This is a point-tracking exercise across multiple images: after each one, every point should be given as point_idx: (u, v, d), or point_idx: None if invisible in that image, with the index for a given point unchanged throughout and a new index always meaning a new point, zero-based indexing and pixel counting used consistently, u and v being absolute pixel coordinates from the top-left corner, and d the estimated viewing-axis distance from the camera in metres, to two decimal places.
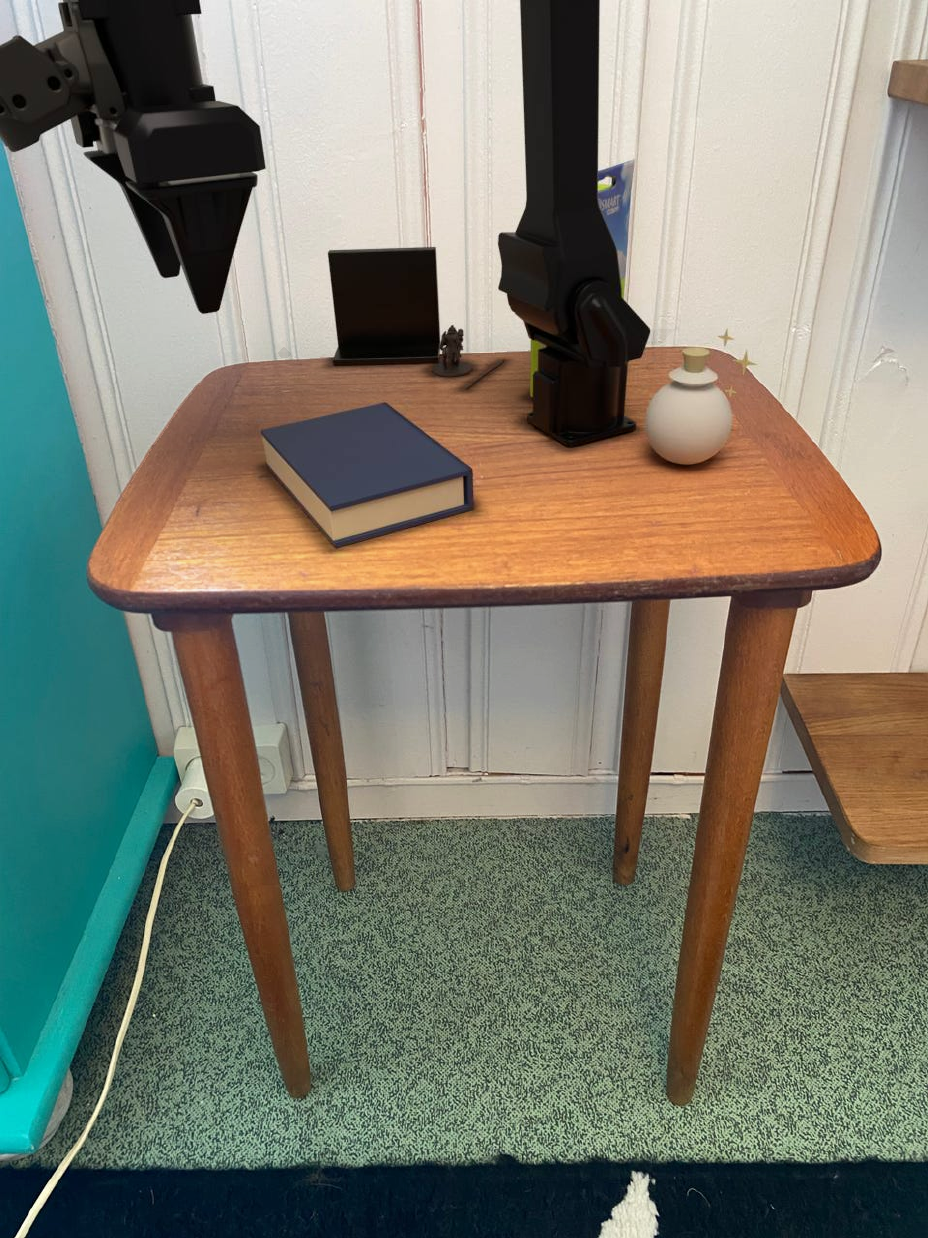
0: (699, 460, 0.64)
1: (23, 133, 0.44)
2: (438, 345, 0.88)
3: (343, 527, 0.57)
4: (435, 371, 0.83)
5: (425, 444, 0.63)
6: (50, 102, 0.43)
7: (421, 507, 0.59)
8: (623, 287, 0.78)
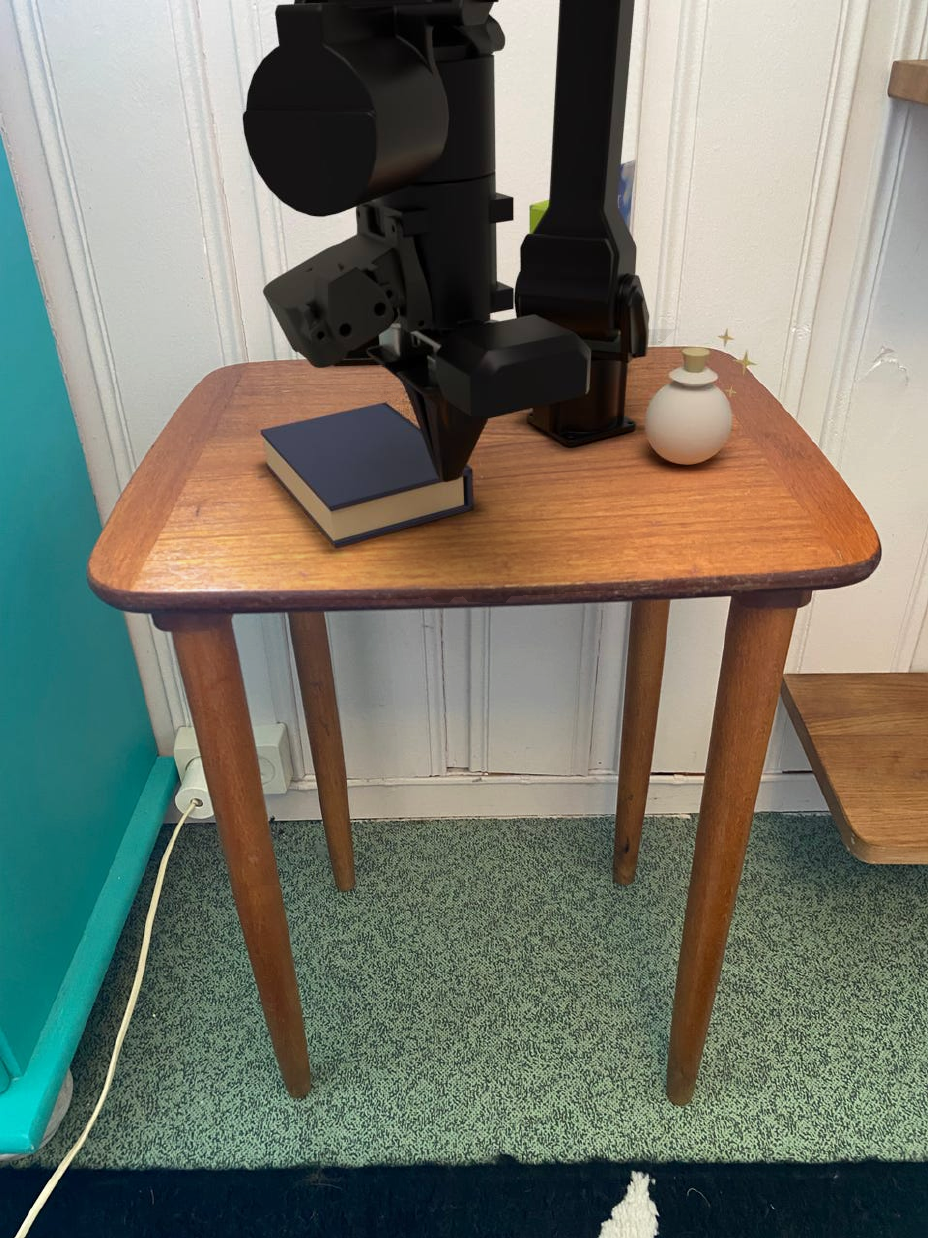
0: (699, 460, 0.64)
1: (333, 352, 0.42)
2: None
3: (343, 527, 0.57)
4: None
5: (425, 444, 0.63)
6: (374, 328, 0.40)
7: (421, 507, 0.59)
8: None
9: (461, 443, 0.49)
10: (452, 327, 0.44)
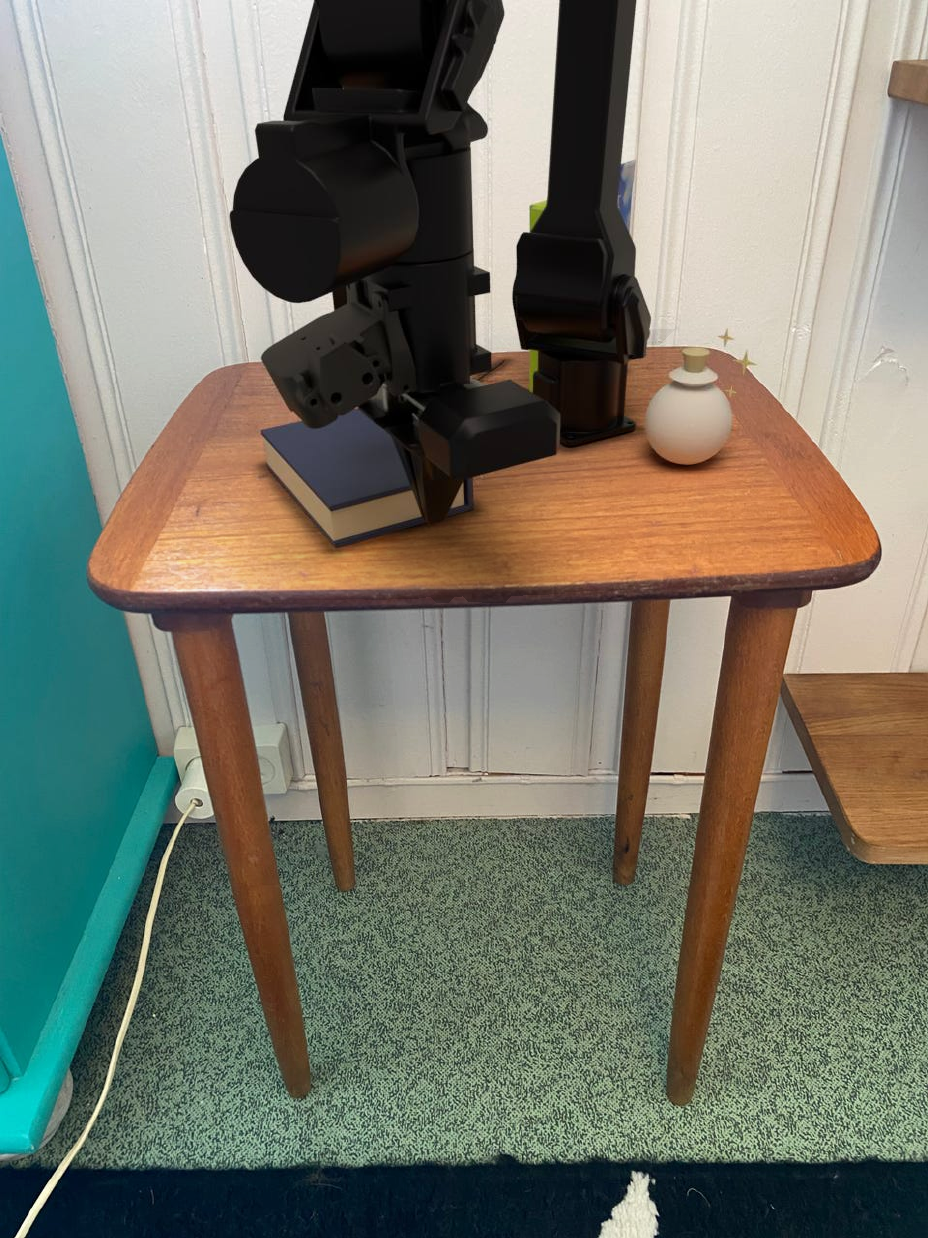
0: (699, 460, 0.64)
1: (325, 415, 0.46)
2: None
3: (343, 527, 0.57)
4: None
5: None
6: (362, 395, 0.44)
7: None
8: None
9: (445, 490, 0.53)
10: (434, 389, 0.48)
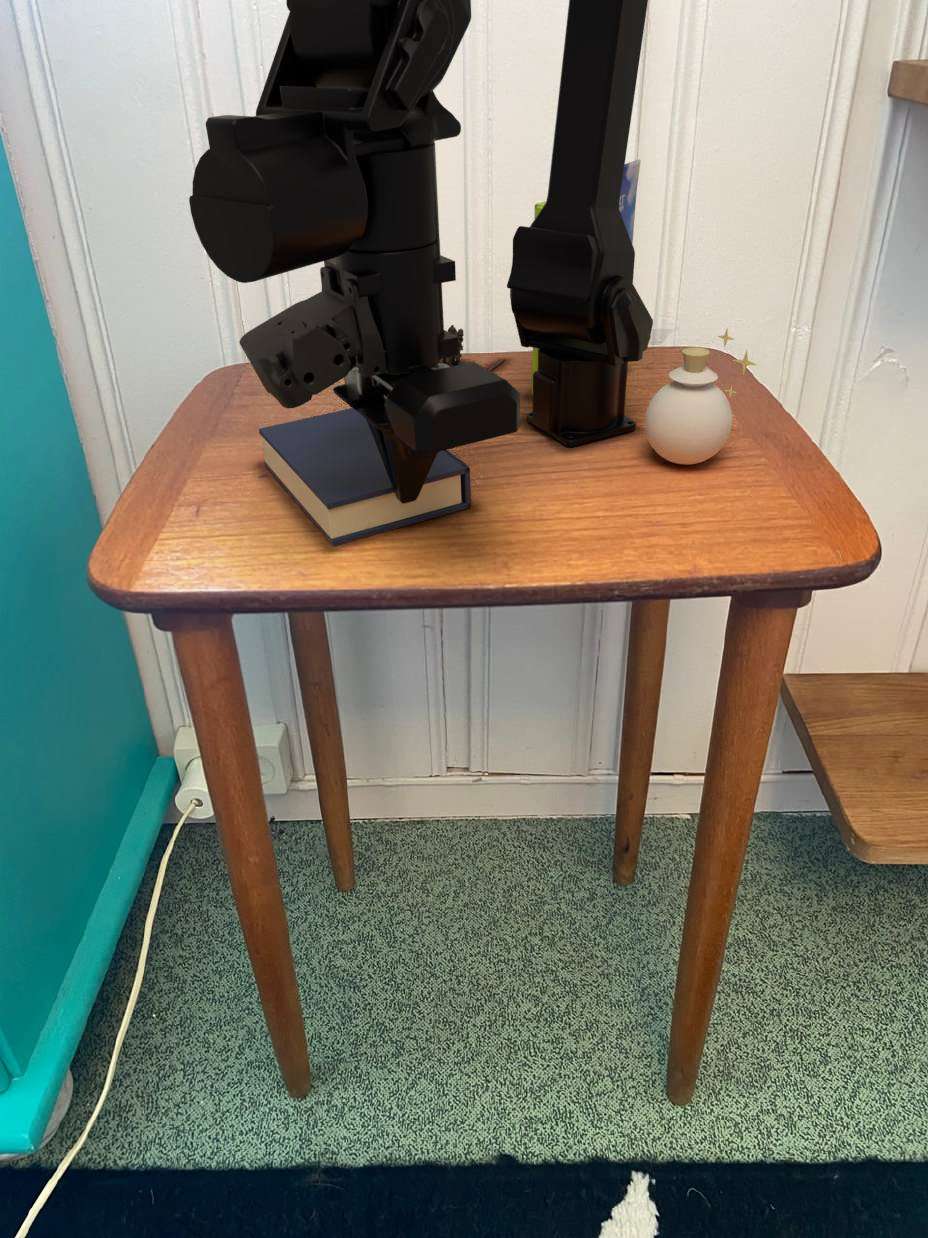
0: (699, 460, 0.64)
1: (299, 395, 0.49)
2: None
3: (340, 525, 0.58)
4: None
5: None
6: (333, 375, 0.47)
7: (419, 505, 0.60)
8: None
9: (416, 469, 0.56)
10: (404, 372, 0.50)
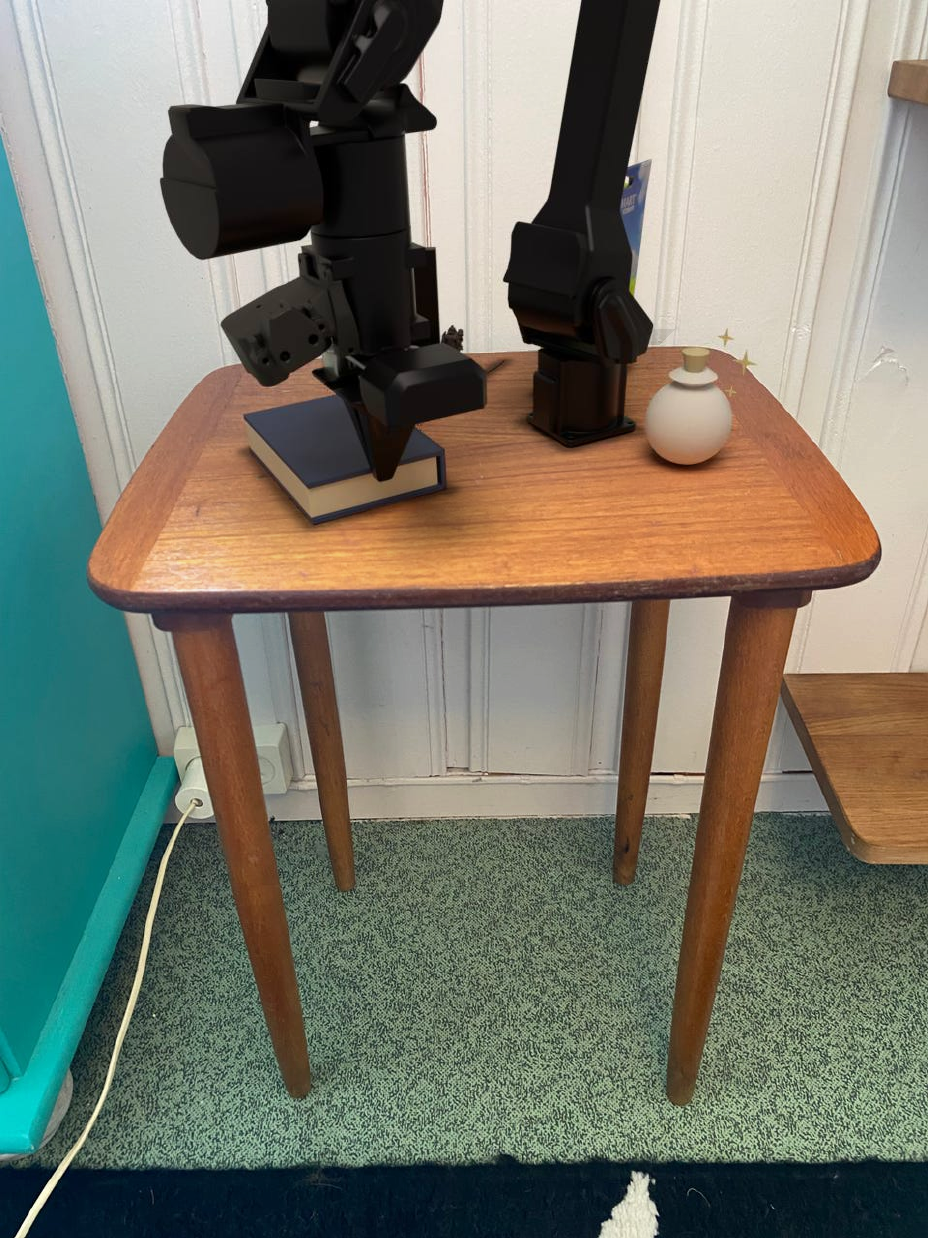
0: (699, 460, 0.64)
1: (277, 374, 0.51)
2: None
3: (320, 504, 0.60)
4: None
5: None
6: (309, 354, 0.49)
7: (396, 486, 0.62)
8: (634, 286, 0.78)
9: (391, 449, 0.58)
10: (377, 353, 0.53)
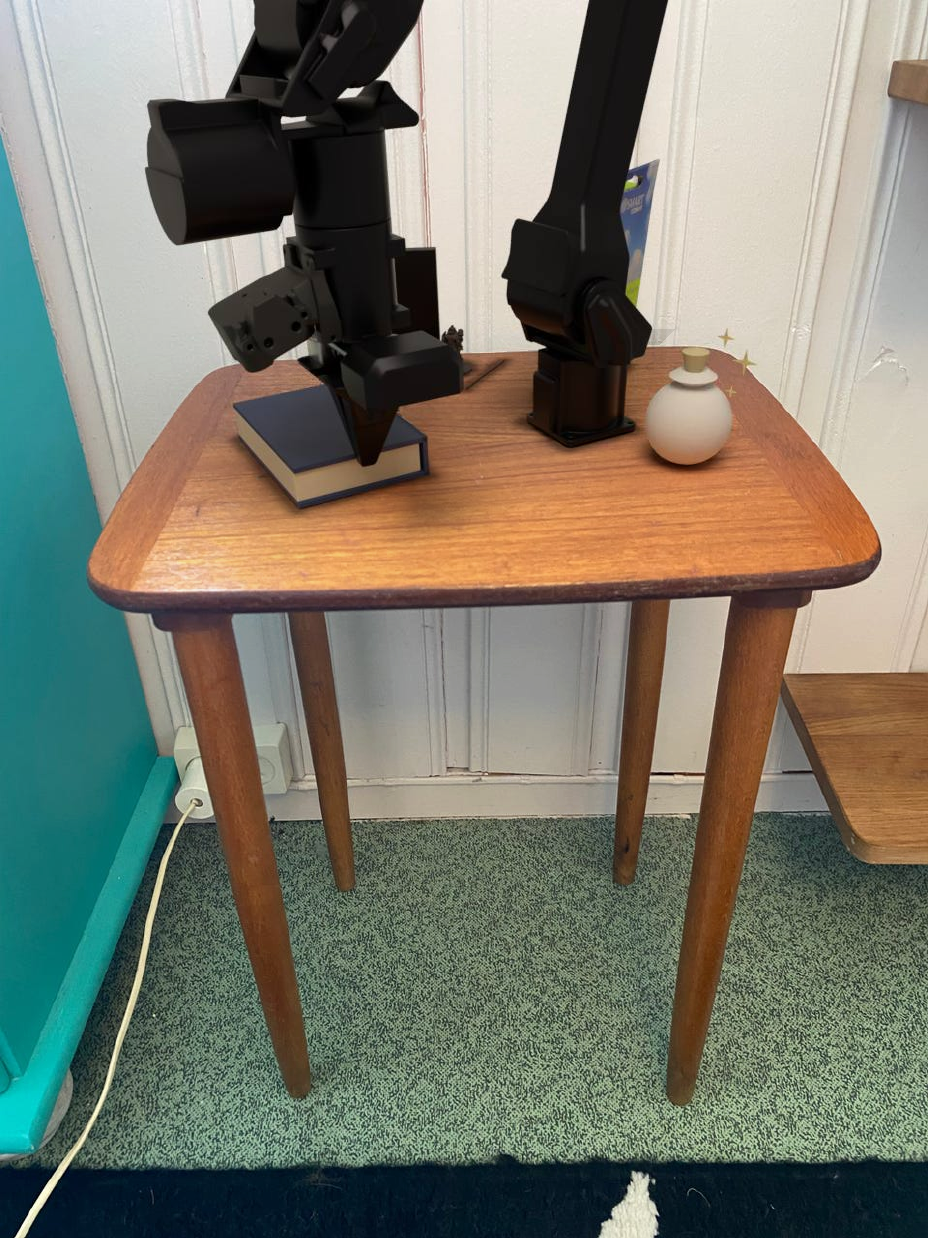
0: (699, 460, 0.64)
1: (261, 360, 0.53)
2: None
3: (306, 489, 0.62)
4: None
5: None
6: (291, 341, 0.51)
7: (380, 472, 0.64)
8: (638, 285, 0.78)
9: (374, 434, 0.60)
10: (359, 340, 0.55)
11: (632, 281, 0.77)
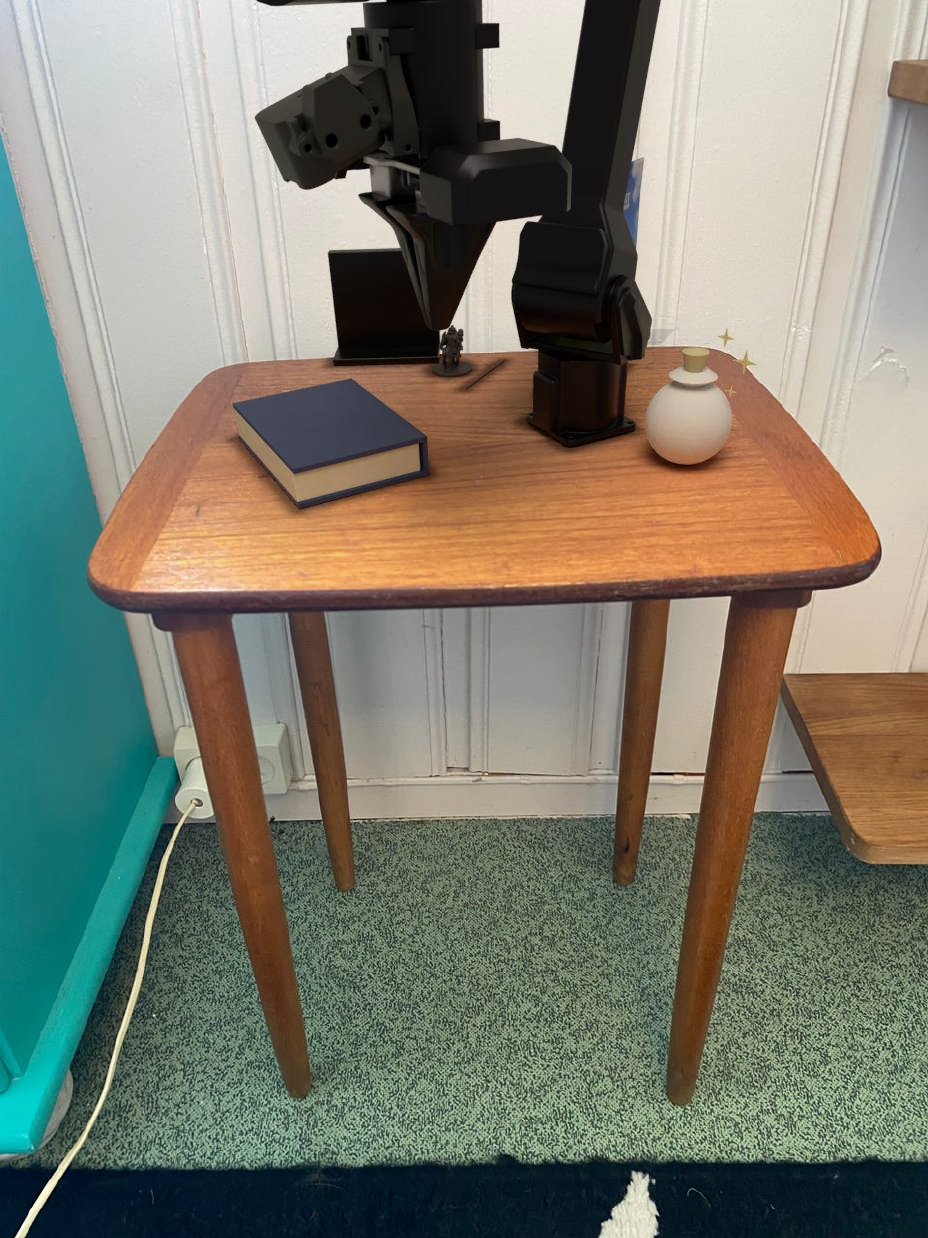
0: (699, 460, 0.64)
1: (321, 171, 0.43)
2: (438, 345, 0.88)
3: (306, 489, 0.62)
4: (435, 371, 0.83)
5: (385, 415, 0.68)
6: (360, 141, 0.41)
7: (379, 472, 0.64)
8: None
9: (450, 288, 0.50)
10: None
11: None
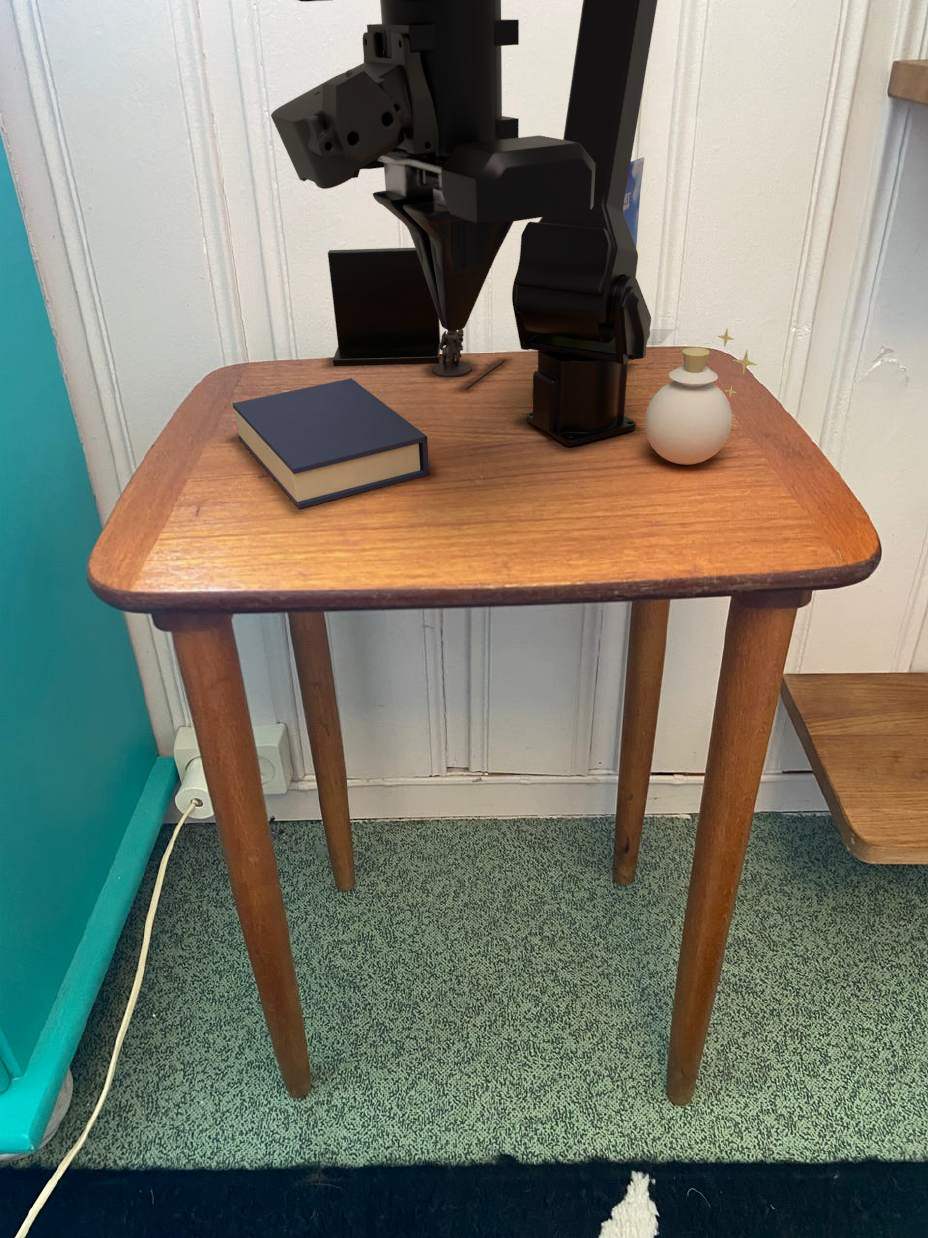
0: (699, 460, 0.64)
1: (340, 170, 0.42)
2: (438, 345, 0.88)
3: (306, 489, 0.62)
4: (435, 371, 0.83)
5: (385, 415, 0.68)
6: (381, 139, 0.41)
7: (379, 472, 0.64)
8: None
9: (466, 287, 0.50)
10: None
11: None
